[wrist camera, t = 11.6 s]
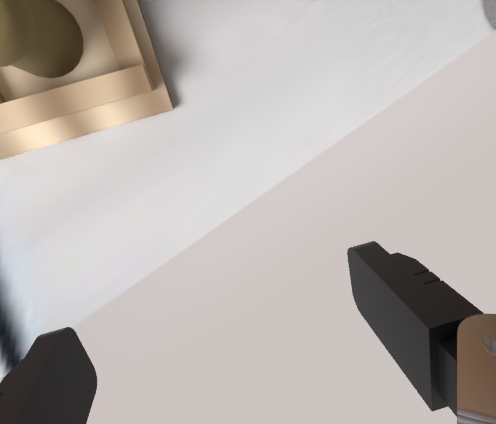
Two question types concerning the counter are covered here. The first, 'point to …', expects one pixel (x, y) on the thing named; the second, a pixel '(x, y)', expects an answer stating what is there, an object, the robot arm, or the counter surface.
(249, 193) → the counter surface
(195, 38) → the counter surface
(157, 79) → the cradle
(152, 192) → the counter surface
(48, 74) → the olive pepper mill
